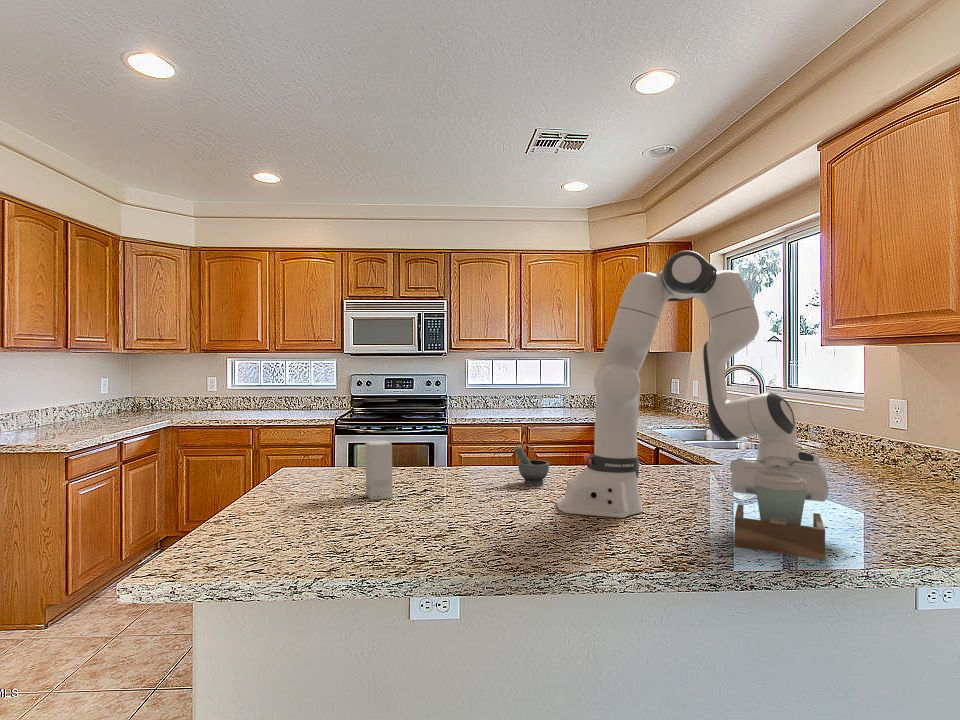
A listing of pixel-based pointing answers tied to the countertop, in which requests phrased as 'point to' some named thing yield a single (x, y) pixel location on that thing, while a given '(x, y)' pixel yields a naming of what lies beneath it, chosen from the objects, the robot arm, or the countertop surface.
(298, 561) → the countertop surface
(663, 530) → the countertop surface
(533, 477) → the mortar and pestle
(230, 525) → the countertop surface
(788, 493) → the disposable coffee cup
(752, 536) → the dock cradle
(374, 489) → the skincare box
